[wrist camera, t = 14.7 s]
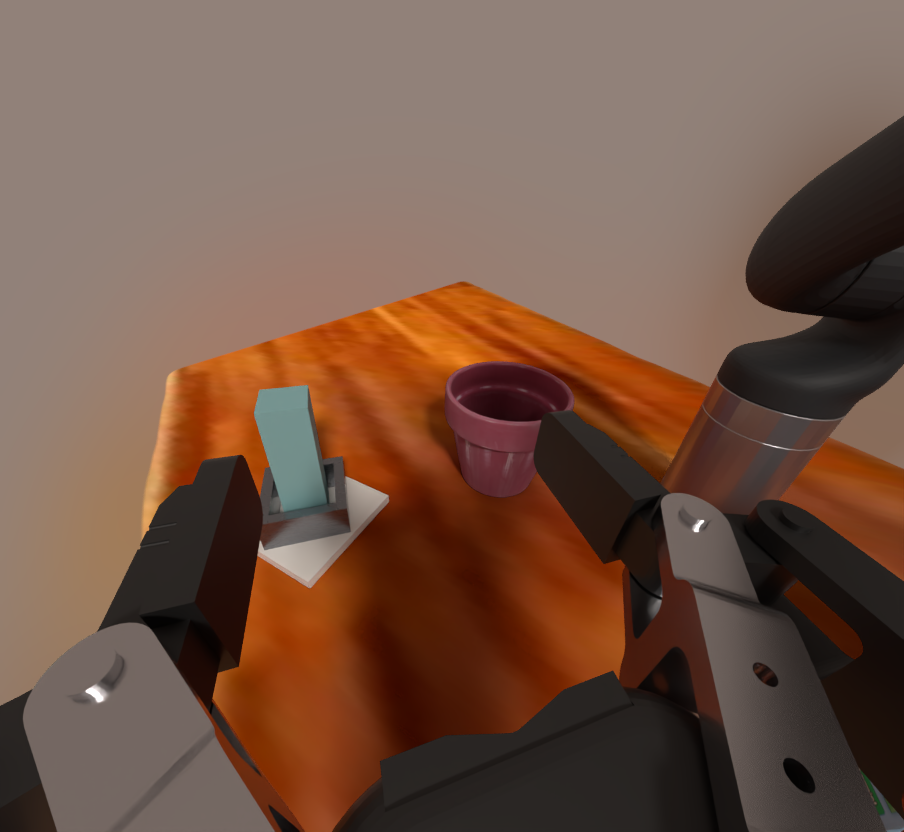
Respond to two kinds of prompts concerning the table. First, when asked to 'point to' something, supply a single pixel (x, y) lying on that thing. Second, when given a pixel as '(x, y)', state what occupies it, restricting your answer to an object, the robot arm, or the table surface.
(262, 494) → the metal collar
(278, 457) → the teal peg
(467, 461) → the plant pot
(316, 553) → the base board
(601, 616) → the table surface
